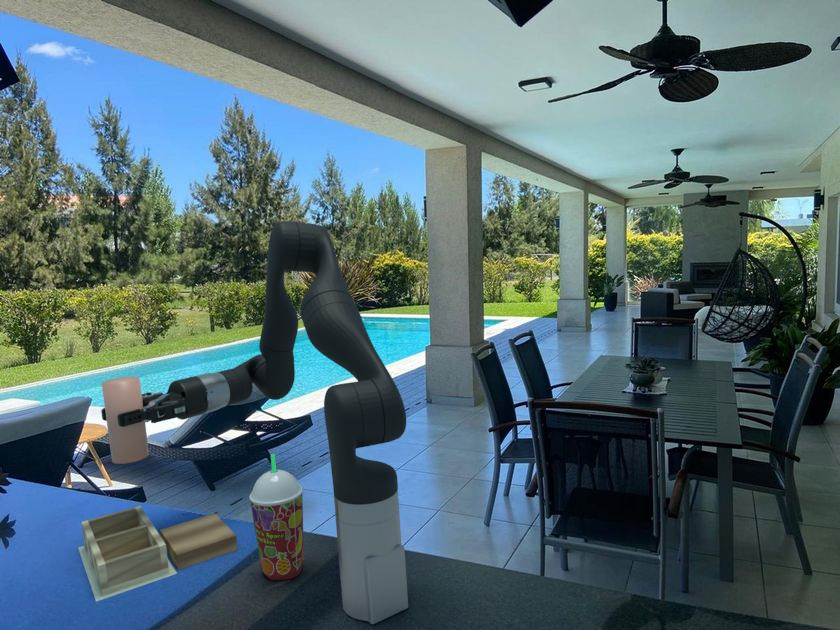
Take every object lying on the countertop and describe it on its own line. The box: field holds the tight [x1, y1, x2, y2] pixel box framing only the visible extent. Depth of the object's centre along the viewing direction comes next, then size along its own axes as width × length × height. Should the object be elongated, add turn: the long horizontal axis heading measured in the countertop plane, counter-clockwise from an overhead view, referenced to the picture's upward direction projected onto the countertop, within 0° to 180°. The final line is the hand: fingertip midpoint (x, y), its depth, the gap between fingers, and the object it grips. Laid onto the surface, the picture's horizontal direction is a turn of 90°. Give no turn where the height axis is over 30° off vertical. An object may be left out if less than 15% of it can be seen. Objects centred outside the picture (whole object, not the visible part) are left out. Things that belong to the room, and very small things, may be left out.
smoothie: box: [248, 453, 305, 582], centre depth 99 cm, size 8×8×20 cm
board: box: [159, 512, 238, 571], centre depth 110 cm, size 12×10×3 cm
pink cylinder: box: [101, 375, 150, 465], centre depth 108 cm, size 6×6×14 cm
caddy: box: [81, 505, 169, 596], centre depth 107 cm, size 20×10×5 cm, turn 35°
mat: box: [78, 545, 178, 603], centre depth 107 cm, size 22×12×1 cm, turn 35°
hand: (110, 417), depth 107 cm, fingers closed on pink cylinder, 6 cm apart
